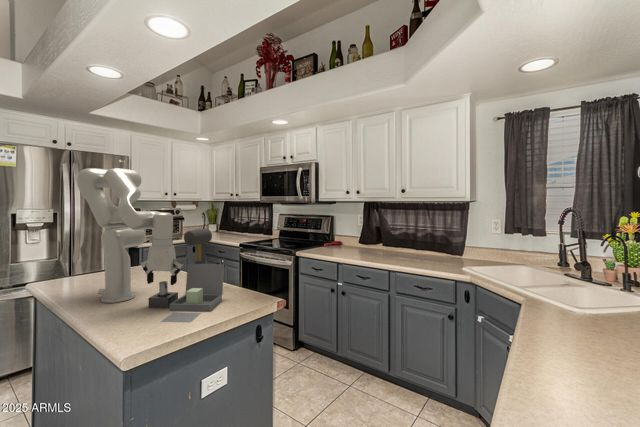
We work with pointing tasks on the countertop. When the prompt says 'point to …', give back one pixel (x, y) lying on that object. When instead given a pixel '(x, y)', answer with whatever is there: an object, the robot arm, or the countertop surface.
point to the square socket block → (162, 300)
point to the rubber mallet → (197, 240)
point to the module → (194, 296)
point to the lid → (206, 278)
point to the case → (207, 305)
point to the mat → (181, 317)
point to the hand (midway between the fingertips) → (161, 283)
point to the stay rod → (163, 289)
